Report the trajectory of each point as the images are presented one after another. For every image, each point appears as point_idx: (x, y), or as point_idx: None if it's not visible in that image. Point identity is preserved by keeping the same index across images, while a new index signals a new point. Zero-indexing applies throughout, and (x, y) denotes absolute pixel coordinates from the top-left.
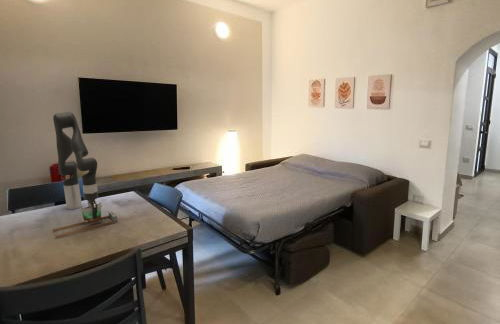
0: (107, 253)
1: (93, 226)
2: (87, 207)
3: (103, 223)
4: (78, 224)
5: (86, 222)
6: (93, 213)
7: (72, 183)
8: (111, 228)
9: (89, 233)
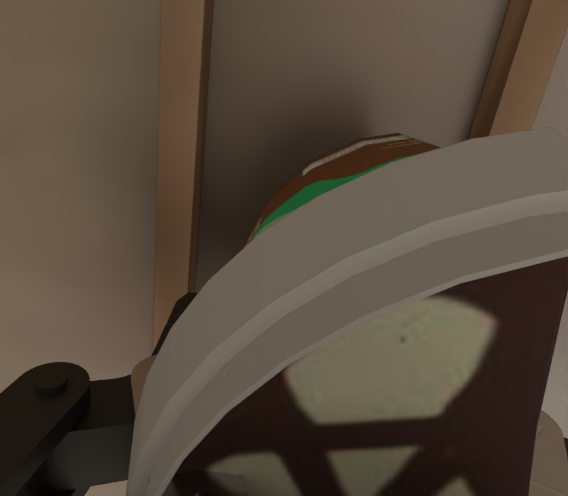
0: None
1: (157, 194)
2: (468, 456)
3: (159, 335)
4: (510, 43)
5: (329, 152)
6: (40, 375)
7: None
8: (3, 341)
9: (7, 59)
